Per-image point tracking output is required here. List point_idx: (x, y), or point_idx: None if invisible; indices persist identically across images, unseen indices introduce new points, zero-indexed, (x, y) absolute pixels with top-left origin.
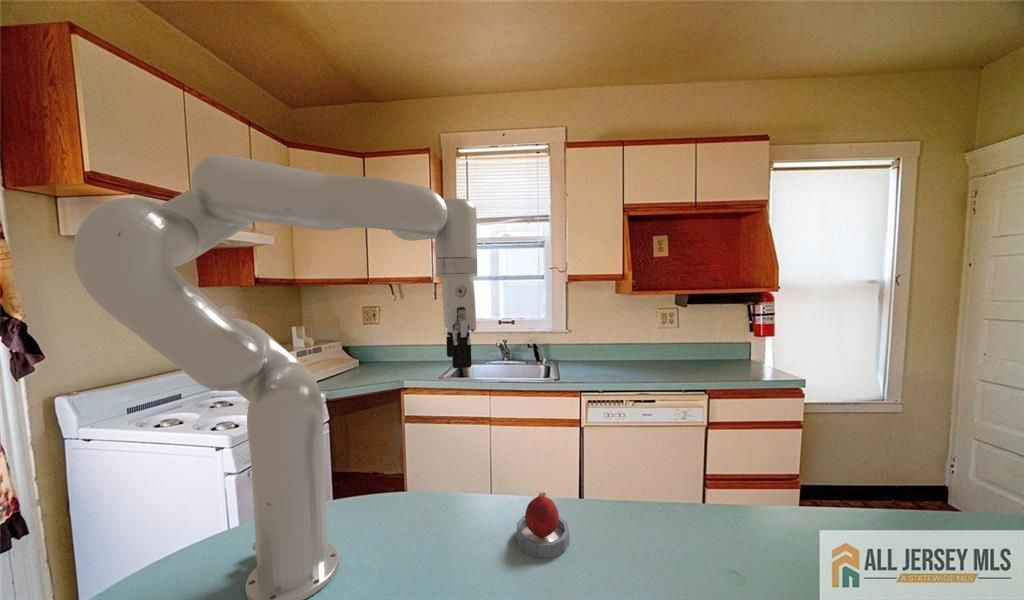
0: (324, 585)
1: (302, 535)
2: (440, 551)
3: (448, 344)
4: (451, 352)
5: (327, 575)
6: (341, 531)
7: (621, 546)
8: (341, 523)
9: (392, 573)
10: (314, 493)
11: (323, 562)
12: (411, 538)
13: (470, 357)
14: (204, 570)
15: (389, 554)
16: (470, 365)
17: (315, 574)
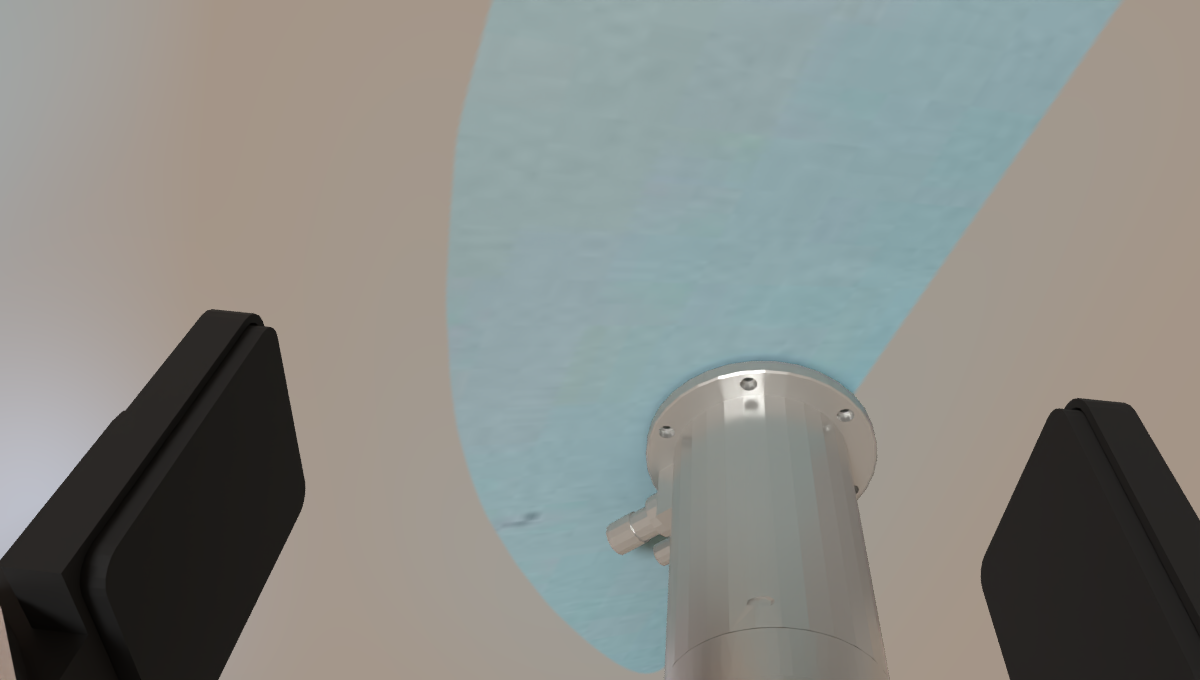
0: (847, 389)
1: (862, 544)
2: (860, 56)
3: (225, 641)
4: (276, 503)
5: (835, 393)
6: (596, 353)
7: None
8: (549, 353)
9: (886, 223)
10: (854, 614)
11: (804, 416)
12: (732, 149)
13: (1180, 511)
14: (645, 596)
15: (787, 225)
16: (1123, 417)
17: (828, 423)
